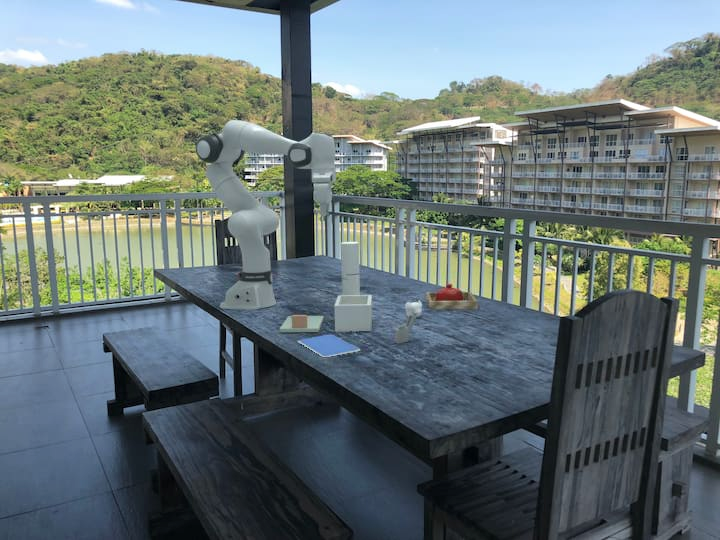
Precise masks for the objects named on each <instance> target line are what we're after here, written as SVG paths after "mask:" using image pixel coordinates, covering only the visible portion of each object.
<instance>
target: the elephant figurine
mask: <svg viewBox="0 0 720 540" xmlns="http://www.w3.org/2000/svg"><path fill="white" fill-rule="evenodd" d="M404 308H405V313H406V316H407V317H408V318H409V315H413V316H415V317H416V318H418V317H419V316H421V314H423V312H422V309H423V303H422V302H421V301H420V300H418V301H415V302H410V301H409V302H408V301H407V302H406V303H405V305H404Z"/></svg>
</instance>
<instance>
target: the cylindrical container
mask: <svg viewBox="0 0 720 540" xmlns="http://www.w3.org/2000/svg"><path fill="white" fill-rule="evenodd" d="M340 254H341V255H340V256H341V258H340V259H341V260H340V261H341V262H340V264H341V293H342V294H341V295H361V293H360V292H361V290H360V289H361V287H360V283H361V282H360V279H361V278H360V245H359V242H358V241H344V242H343V241H342V242H340Z"/></svg>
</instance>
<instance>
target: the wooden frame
mask: <svg viewBox="0 0 720 540" xmlns="http://www.w3.org/2000/svg"><path fill="white" fill-rule="evenodd" d="M437 292H438V291H437ZM437 292H436V291H435V292H434V291H429V292H428V291H427V292H425V301H426V304H427V303H428V304H427V306H429V307H428V310H478V308H479V306H478V305H479V301H478V300H477V298H476V297H475V295H474V294H473V292H472V291H462V295H463V299H468V300H467V301H435V300H436V294H437Z"/></svg>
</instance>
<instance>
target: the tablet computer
mask: <svg viewBox="0 0 720 540" xmlns="http://www.w3.org/2000/svg"><path fill="white" fill-rule="evenodd" d="M297 343H298V344H300V345H301V344H302V346H303V345H304V346H303V347H305V348H306V347H307V348H306V349H308V348H309V349H310V350H309V349H308V350H309V351H311V350H312V351H313V352H312V351H311V352H312V353H314V352H315V353H314V354H316V353H317V354H319V355H320V356H322V357H330V358H332V357H331V356H336V357H338V356H337V355H341V356H343V355H342V354H346V355H348V354H347V353H351V354H354V353H353V352H356V353H359V352H358V351H360V352H361V349H360V348H359V347H357V346H355V345H353V344H352V343H349V342H348V341H346V340H343V339H341V338H339V337H338V336H336V335H334V334H332V333H331V334H323V335H319V336H313V337H308V338H303V339H302V338H301V339H299V340H297ZM317 354H316V355H317ZM320 356H319V357H320Z"/></svg>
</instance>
